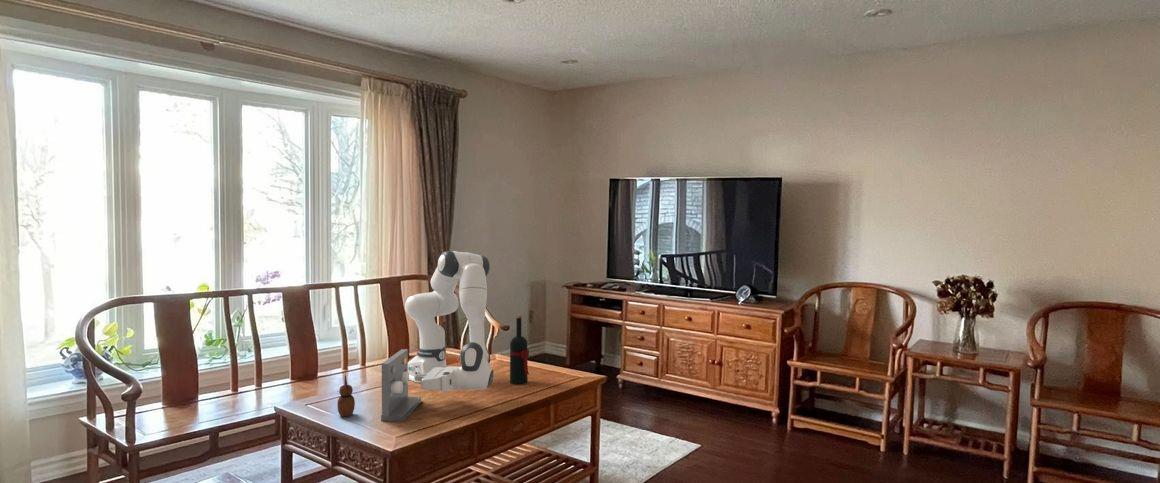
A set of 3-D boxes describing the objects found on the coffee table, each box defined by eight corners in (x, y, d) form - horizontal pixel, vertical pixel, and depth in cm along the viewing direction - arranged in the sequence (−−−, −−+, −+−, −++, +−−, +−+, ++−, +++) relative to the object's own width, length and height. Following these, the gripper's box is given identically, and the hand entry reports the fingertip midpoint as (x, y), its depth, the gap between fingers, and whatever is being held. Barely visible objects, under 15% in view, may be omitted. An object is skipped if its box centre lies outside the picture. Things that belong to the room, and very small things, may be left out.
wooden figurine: (340, 412, 248) (340, 373, 247) (356, 412, 248) (356, 373, 248) (335, 418, 241) (335, 377, 240) (351, 418, 242) (351, 377, 241)
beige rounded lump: (409, 381, 259) (409, 370, 259) (405, 384, 255) (405, 373, 255) (401, 381, 259) (401, 370, 259) (397, 384, 255) (397, 373, 255)
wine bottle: (520, 386, 285) (520, 318, 283) (506, 382, 292) (506, 315, 291) (534, 383, 290) (534, 316, 289) (520, 379, 298) (520, 313, 296)
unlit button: (403, 391, 245) (403, 380, 245) (399, 395, 241) (399, 383, 241) (394, 391, 245) (394, 379, 245) (390, 394, 241) (390, 383, 241)
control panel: (421, 401, 262) (420, 349, 261) (403, 421, 238) (402, 364, 237) (401, 401, 263) (400, 349, 262) (381, 421, 239) (380, 363, 238)
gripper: (456, 363, 266) (423, 363, 267) (444, 376, 246) (408, 376, 247) (457, 379, 267) (423, 378, 267) (444, 393, 246) (408, 392, 247)
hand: (415, 377), depth 257 cm, fingers closed
